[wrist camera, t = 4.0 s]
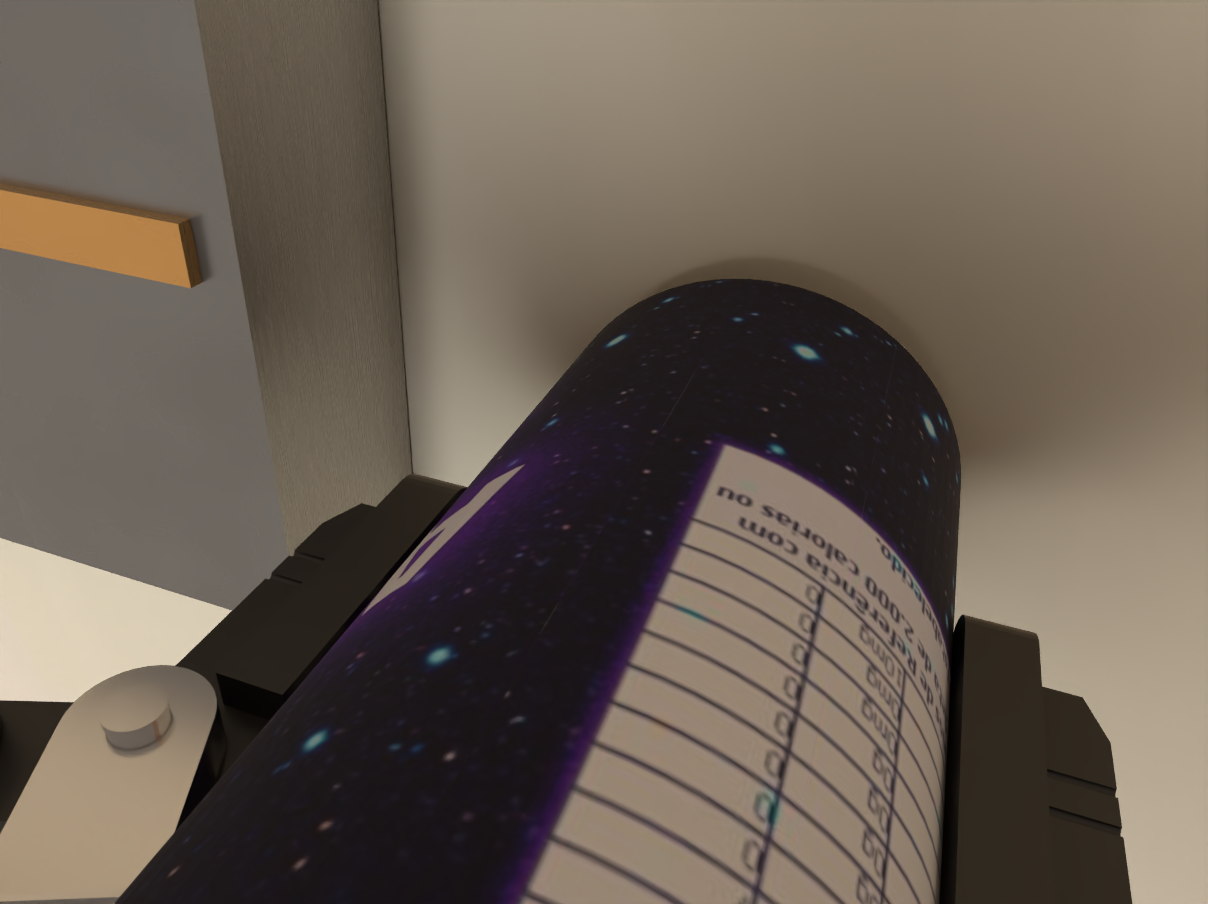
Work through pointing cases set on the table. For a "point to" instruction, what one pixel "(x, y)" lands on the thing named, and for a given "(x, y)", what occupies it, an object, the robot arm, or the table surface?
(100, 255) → the jig
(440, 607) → the beverage can
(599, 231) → the table surface
